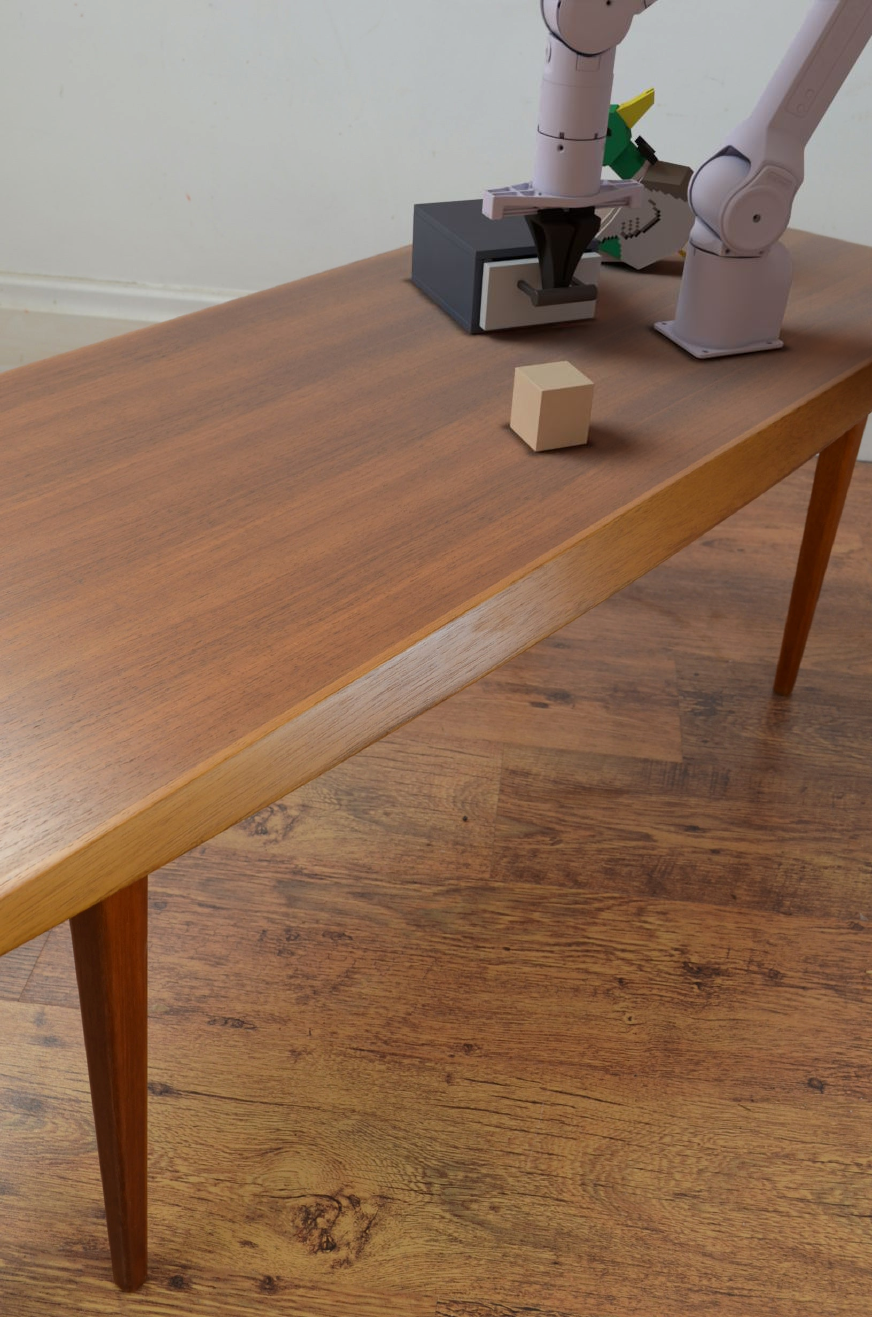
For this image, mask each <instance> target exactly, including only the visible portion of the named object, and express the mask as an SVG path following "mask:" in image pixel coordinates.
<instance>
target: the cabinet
mask: <svg viewBox="0 0 872 1317" xmlns="http://www.w3.org/2000/svg"><path fill="white" fill-rule="evenodd" d="M482 207H483V198H479V199H478V198H476V199H475V198H474V199H464V200H463V199H462V200H452V201H451V200H450V201H449V200H448V201H439V202H437V201H436V202H426V203H425V202H424V203H423V202H422V203H414V204H413V218H412V219H413V220H412V244H411V245H412V247H411V278H410V279H411V282H412V283H413V284H414V285H415V286H416V287H417V288H418V289H419V290H421V291H422V293H424V294H425V295H426V296H427V297H428V298H429V299H431V300H432V301H433V302H434V303H435V305H436V304H437V306H438V307H439V308H441V309H442V310H443V311H444V312H445V313H446V314H448V315H449V316H450V317H451V318H452V319H453V320H454V321H455V322H457V324H459V325H460V326H461V327H462V328H463V329H464V330H465V331H466V332H468V333H469V334H470V335H473V334H481V333H482V334H483V333H490V332H498V331H508V330H516V329H524V328H531V327H539V326H540V327H541V326H546V325H548V326H549V325H556V324H557V325H558V324H566V323H574V322H581V321H589V320H590V318H586V319H577V320H569V321H560V322H552V323H544V324H535V325H527V326H519V327H510V328H502V329H493V330H484V329H482V328H481V327H480V316H479V313H480V298H481V284H482V270H483V259H492V258H502V257H513V256H523V255H534V254H537V252H536V248H535V244H534V241H533V238H532V235H531V233H530V230H529V227H528V225H527V223H526V220H525V218H524V215H517V216H505V217H503V218H502V219H500V220H491V219H490V218H488V217H486V216H485V215H484V214H483V213H482ZM598 248H599V239H597V238H595V237H594V238H593V239H592V241H591V242H590V244H589V245H588V247H587V248H586V250H585V252H584V253H593V252H596V253H597V254H598Z"/></svg>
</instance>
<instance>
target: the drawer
mask: <svg viewBox="0 0 872 1317" xmlns="http://www.w3.org/2000/svg"><path fill="white" fill-rule="evenodd" d="M601 258H602V256H601V255H599V254H597V253H596V252H593V253H584V254H583V255H582V257H581V259H580V261H579V263H578V265H577V268H576V270H575V272H574V275H573V277H572V280H571V282H570V285H569V287H561V288H552V289H543V290H542V281H541V272H540V266H539V261H538V256H537V254H534V255H523V256H513V257H502V258H492V259H483V270H482V284H481V298H480V313H479V316H480V327H481V328H482V329H484V330H493V329H502V328H510V327H519V326H527V325H535V324H544V323H552V322H560V321H569V320H577V319H586V318H589V319H594V317H595V310H596V302H597V298H598V296H599V295H598V294H599V290H598V288H599V280H600V272H601V265H602V261H601Z"/></svg>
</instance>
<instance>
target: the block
mask: <svg viewBox="0 0 872 1317" xmlns="http://www.w3.org/2000/svg"><path fill="white" fill-rule="evenodd" d="M513 378H514V379H513V380H514V381H513V390H512V400H511V412H510V423H509V427H510V428H511V429H512V430H513V432H514V433H516V435H518V437H520V438H521V439H522V440H523V442H525V443H526V444H527V445H528V446H529V447H530V448H531V449H532V450H533V451H534V452H542V451H549V450H555V449H562V448H567V447H573V446H580V445H586V444H587V443H588V442H587V441H588V435H589V429H590V420H591V416H592V415H591V414H592V407H593V400H594V393H595V386H596V383H595V382H594V381H592V380H591V379H590V378H589V377H587V376H586V374H584V373H582V371H580V370H579V369H578V368H576V367H575V366H574V365H573V364H572V363H570V362H569V361H568V360H561V361H554V362H553V361H552V362H546V363H540V364H532V365H524V366H517V367H515V368H514V377H513Z"/></svg>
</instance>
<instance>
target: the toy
mask: <svg viewBox="0 0 872 1317" xmlns="http://www.w3.org/2000/svg"><path fill="white" fill-rule="evenodd" d="M655 94H656V93H655V88H654V86H651V87H650V88H648V89H646V90H645V91H644V92H641V93H639V94H638V95H637V96H634V97H633V98H632V99H630V100H628V101H625V102H623V103H621V104H617V103H616V104H615V103H614V104H613V103H610V109H609V117H608V125H607V133H606V141H605V149H604V157H603V165H602V168H603V167H604V168H606V167H609V168H610V169H611V170H612V172H614V173H615V174H616V175H617V176H618V177H619V179H620V180H631V179H633V180H635V181H637V182H639V183H641V184H643V185H644V193H643V200H642V206H641V208H636V209H631V208H629V207H616V208H611V210H610V211H609V212H608V214H607V215H606V216H605V217H604V218H603V219H601V226H600V230H599V232H598V233H597V234H596V235H595V238H597V239H599V248H598V254H599V255H601V256H602V258H601V262H610V263H611V262H613V263H614V262H615V263H616V262H618V263H622V262H623V263H626V264H627V265H629V266H630V267H633V268H634V269H637V270H641V269H643V268H645V267H647V266H650V265H651V264H654V263H656V262H659V261H661V260H662V259H664V258H667V257H670V256H671V255H673V254H675V253H678V254H679V255H680V256H681V257H682V258H683V259H684V260H685V259H686V253H687V252H685V251H684V250H682V249H683V248H684V246H685V245H686V244H687V242H689V236H690V232H691V230H692V228H693V226H694V224H695V219H696V216H695V215H694V213H693V212H692V210H691V208H690V206H689V202H688V195H687V194H688V186H689V182H690V179H691V177H692V175H693V173H694V171H695V170H693V169H692V168H691V166H687V165H683V164H678V163H673V162H669V161H663V160H659V158H658V157H657V155H656V152H657V151H656V150H655V149H654V148H653V147H652V146H651V145H650V144H649V142H647V141H646V140H645V139H644V138H643V137H642V135H640V134H639V135H638V136H637V138H635V140H634V142H633V141H632V138H633V134H632V128H633V127H635V125H636V124H637V123H638V122H639V121H640V119H642V118H643V116H644V115H645V114H646V113H647V112H648V111H649V110H650V109H651V107H653V105H654V104H655Z"/></svg>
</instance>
